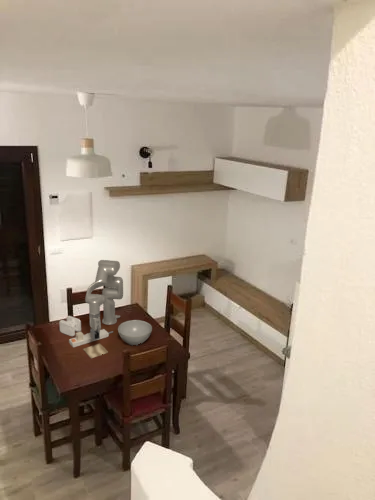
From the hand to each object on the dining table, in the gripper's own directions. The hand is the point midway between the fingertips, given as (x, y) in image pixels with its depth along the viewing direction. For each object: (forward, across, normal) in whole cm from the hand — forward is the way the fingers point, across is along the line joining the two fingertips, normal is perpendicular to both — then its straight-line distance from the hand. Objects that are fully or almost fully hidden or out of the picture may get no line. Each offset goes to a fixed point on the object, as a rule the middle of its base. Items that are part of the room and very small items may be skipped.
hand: (95, 336), depth 305 cm
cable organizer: (+13, +36, +5) cm, 39 cm away
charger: (+2, 0, 0) cm, 2 cm away
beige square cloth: (+13, 0, 0) cm, 13 cm away
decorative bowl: (+13, -4, -32) cm, 35 cm away
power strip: (+13, +18, -6) cm, 23 cm away
